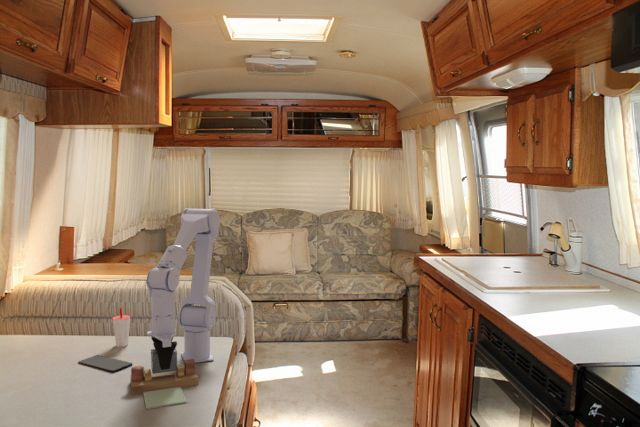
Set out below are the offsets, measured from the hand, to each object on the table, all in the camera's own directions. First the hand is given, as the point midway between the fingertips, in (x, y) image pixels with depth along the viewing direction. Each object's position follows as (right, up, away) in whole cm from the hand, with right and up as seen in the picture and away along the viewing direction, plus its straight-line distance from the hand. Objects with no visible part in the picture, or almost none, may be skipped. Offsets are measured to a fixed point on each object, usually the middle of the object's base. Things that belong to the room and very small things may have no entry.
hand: (164, 365), depth 132 cm
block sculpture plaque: (0, -5, 0) cm, 5 cm away
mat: (+3, -5, -8) cm, 10 cm away
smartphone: (-21, -4, +13) cm, 25 cm away
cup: (-22, -2, +29) cm, 36 cm away
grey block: (0, -1, 0) cm, 1 cm away
